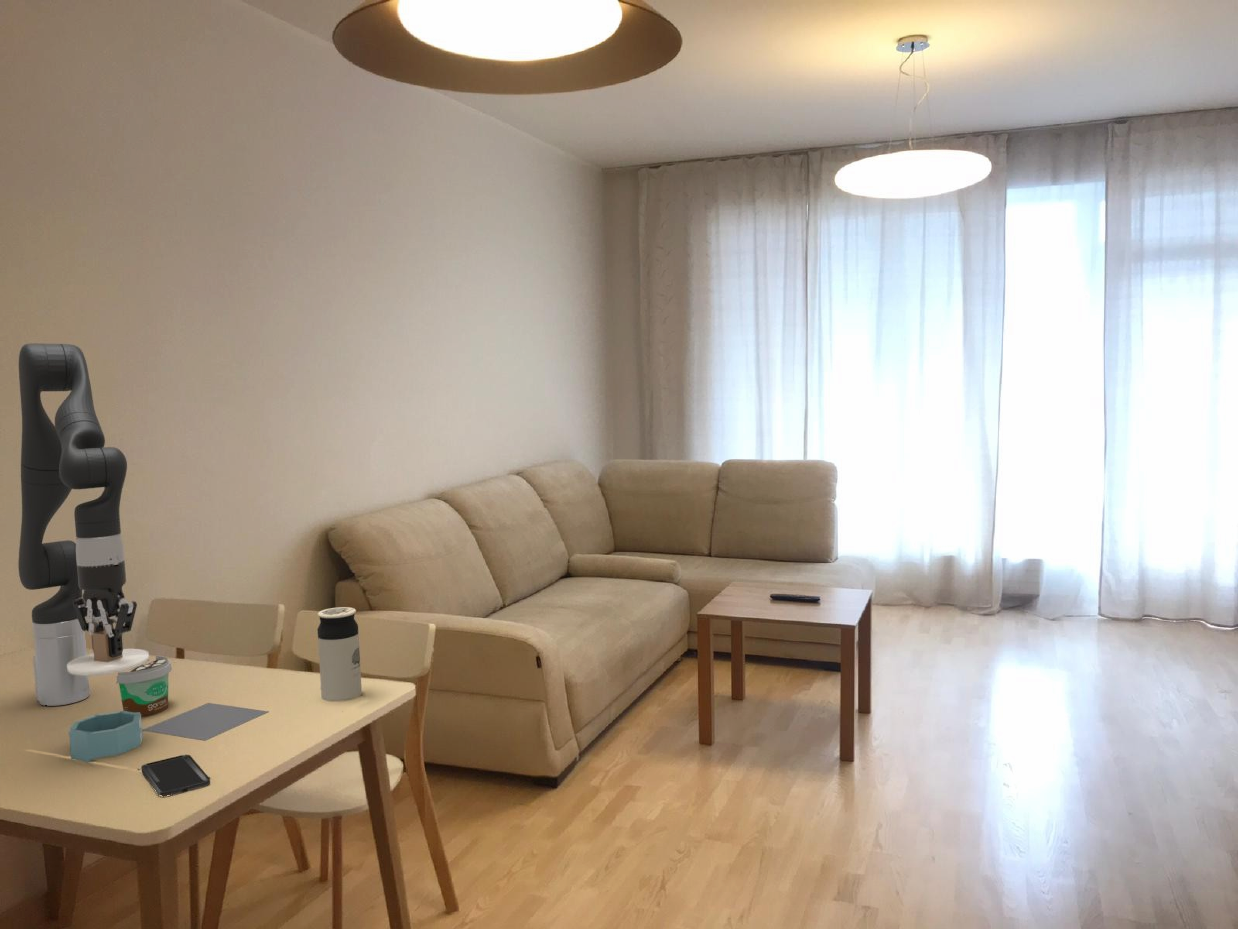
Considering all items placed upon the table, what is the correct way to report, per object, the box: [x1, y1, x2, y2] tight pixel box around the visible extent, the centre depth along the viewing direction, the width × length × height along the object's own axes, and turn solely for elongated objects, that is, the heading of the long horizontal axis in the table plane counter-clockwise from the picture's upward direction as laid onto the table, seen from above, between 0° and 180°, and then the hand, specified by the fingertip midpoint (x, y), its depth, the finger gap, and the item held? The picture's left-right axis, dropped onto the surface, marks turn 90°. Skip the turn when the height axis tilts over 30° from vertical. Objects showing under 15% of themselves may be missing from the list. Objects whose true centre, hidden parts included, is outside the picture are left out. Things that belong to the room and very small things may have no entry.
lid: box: [67, 628, 150, 677], centre depth 175 cm, size 13×13×6 cm
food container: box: [115, 655, 173, 718], centre depth 194 cm, size 12×6×10 cm, turn 168°
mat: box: [142, 702, 270, 742], centre depth 187 cm, size 16×16×1 cm
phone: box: [141, 754, 211, 796], centre depth 162 cm, size 8×1×15 cm
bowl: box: [68, 710, 144, 763], centre depth 175 cm, size 11×11×5 cm
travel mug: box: [317, 606, 363, 702], centre depth 200 cm, size 8×8×18 cm
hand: (108, 654), depth 175 cm, fingers closed on lid, 3 cm apart
